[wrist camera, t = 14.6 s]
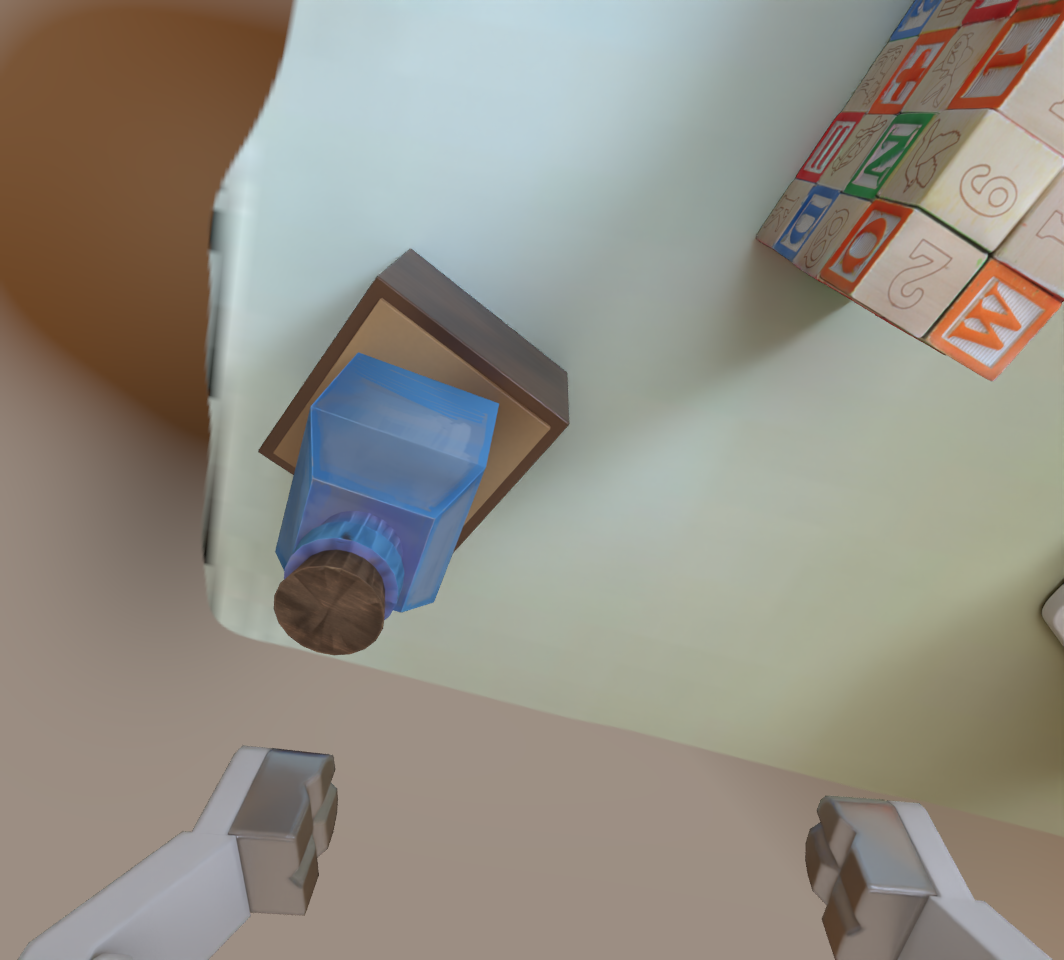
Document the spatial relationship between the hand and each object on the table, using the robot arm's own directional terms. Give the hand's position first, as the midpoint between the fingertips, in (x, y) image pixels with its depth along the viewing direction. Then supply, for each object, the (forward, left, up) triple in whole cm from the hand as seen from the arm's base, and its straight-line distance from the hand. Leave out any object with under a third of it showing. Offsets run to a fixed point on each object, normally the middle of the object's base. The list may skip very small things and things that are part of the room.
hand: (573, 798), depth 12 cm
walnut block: (+2, +7, -27) cm, 28 cm away
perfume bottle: (+2, +7, -20) cm, 21 cm away
